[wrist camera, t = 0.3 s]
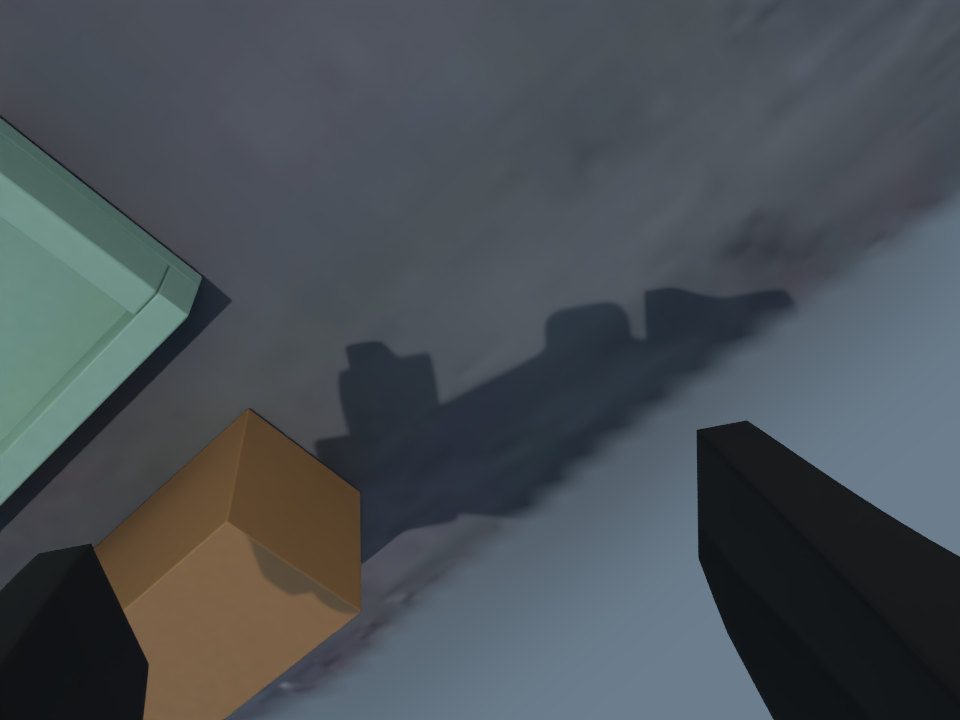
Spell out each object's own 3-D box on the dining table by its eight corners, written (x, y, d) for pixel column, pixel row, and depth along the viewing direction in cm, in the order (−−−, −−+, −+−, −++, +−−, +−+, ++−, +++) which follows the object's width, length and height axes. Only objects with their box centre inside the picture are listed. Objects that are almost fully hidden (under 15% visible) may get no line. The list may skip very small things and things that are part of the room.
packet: (361, 492, 24) (362, 612, 20) (172, 649, 26) (140, 785, 22) (248, 407, 22) (226, 521, 19) (54, 582, 24) (-2, 718, 21)
